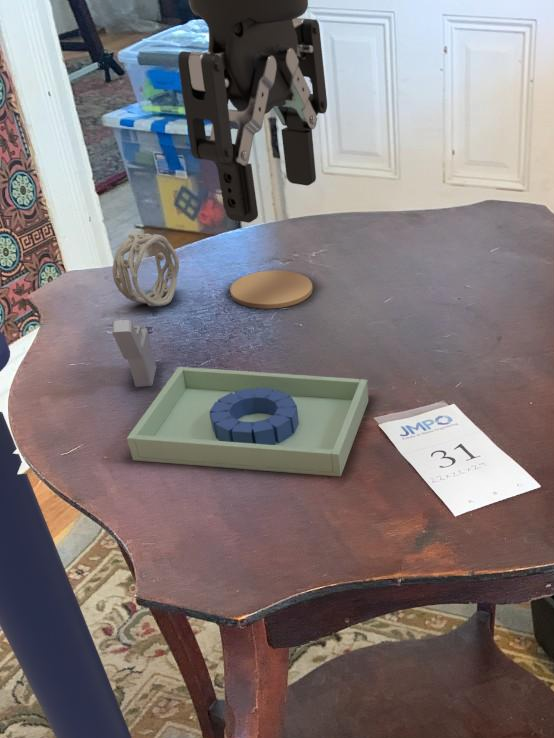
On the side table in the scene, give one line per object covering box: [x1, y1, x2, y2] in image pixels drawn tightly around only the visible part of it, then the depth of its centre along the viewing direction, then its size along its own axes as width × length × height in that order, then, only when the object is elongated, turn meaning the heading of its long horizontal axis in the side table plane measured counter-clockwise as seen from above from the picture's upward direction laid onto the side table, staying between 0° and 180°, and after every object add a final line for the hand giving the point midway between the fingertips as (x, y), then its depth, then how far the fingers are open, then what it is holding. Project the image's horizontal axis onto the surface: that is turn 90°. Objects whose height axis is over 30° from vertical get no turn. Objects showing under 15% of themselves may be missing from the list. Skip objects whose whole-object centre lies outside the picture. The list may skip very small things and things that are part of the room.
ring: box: [209, 388, 299, 445], centre depth 81 cm, size 8×8×2 cm
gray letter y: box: [111, 319, 157, 388], centre depth 85 cm, size 7×2×8 cm, turn 8°
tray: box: [126, 366, 369, 477], centre depth 81 cm, size 19×13×2 cm
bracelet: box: [112, 232, 180, 307], centre depth 100 cm, size 4×8×8 cm, turn 157°
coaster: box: [229, 270, 314, 310], centre depth 105 cm, size 10×10×1 cm
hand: (273, 200), depth 63 cm, fingers open, 8 cm apart
